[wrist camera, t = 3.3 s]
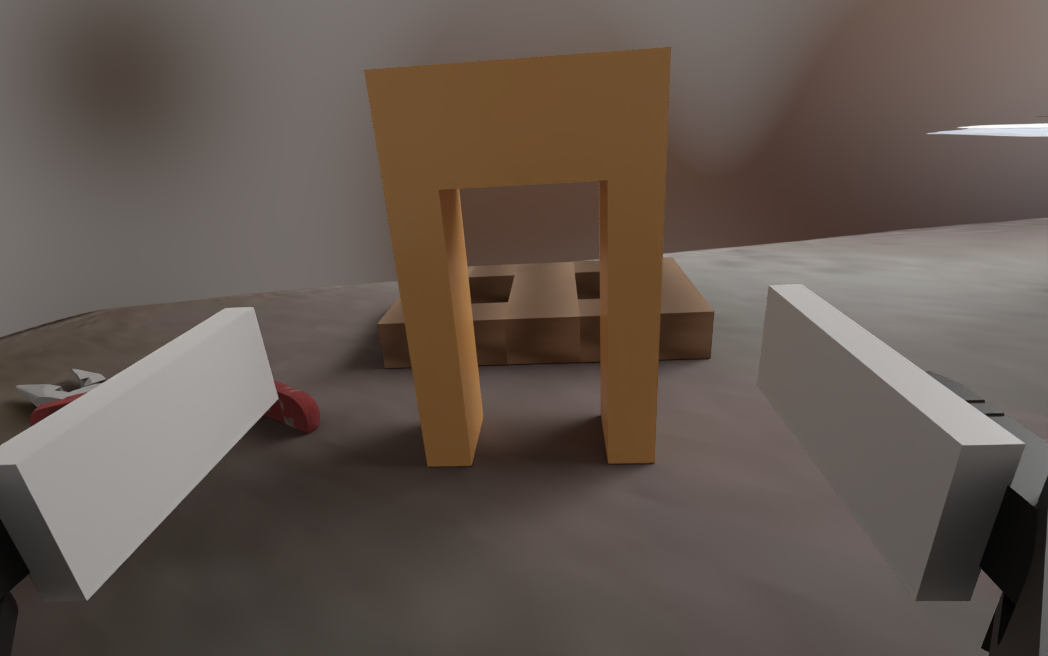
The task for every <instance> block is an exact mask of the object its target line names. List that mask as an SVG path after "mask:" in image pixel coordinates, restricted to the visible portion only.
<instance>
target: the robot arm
mask: <svg viewBox="0 0 1048 656" xmlns="http://www.w3.org/2000/svg"><path fill="white" fill-rule="evenodd" d="M757 385H758V387H759V388H760V390H761V391H762V392H763V394H764V395H765V396H766V398H767V399H768V401H769V402H770V403H771V405H772V406H773V407H774V409H775V410H776V411H777V413H778V414H779V416H780V417H781V418H782V420H783V421H784V422H785V424H786V425H787V426H788V428H789V429H790V431H791V432H792V433H793V435H794V436H795V437H796V439H797V440H798V441H799V443H800V444H801V446H802V447H803V448H804V450H805V451H806V452H807V454H808V455H809V456H810V458H811V459H812V461H813V462H814V463H815V465H816V466H817V467H818V469H819V470H820V471H821V473H822V474H823V476H824V477H825V478H826V480H827V481H828V482H829V484H830V485H831V486H832V488H833V489H834V491H835V492H836V493H837V495H838V496H839V497H840V499H841V500H842V501H843V503H844V504H845V506H846V507H847V508H848V510H849V511H850V512H851V514H852V515H853V517H854V518H855V519H856V521H857V522H858V523H859V525H860V526H861V527H862V529H863V530H864V532H865V533H866V534H867V536H868V537H869V538H870V540H871V541H872V542H873V544H874V545H875V547H876V548H877V549H878V551H879V552H880V553H881V555H882V556H883V557H884V559H885V560H886V562H887V563H888V564H889V566H890V567H891V568H892V570H893V571H894V572H895V574H896V575H897V577H898V578H899V579H900V581H901V582H902V583H903V585H904V586H905V587H906V589H907V590H908V592H909V593H910V594H911V596H912V597H913V598H914V600H915V601H970V599H971V596H972V594H973V591H974V588H975V585H976V582H977V580H978V577H979V574H980V571H981V569H982V570H983V571H984V572H985V573H986V574H987V575H988V576H989V577H990V578H991V579H992V581H993V582H994V583H995V584H996V585H997V586H998V587H999V588H1000V589H1001V590H1002V591H1003V592H1002V595H1001V597H1000V600H999V603H998V605H997V608H996V610H995V613H994V616H993V618H992V621H991V623H990V626H989V629H988V631H987V634H986V636H985V639H984V642H983V644H982V647H981V648H982V649H984V650H986V651H988V652H989V656H1048V443H1047V442H1046V441H1044V440H1043V439H1041V438H1040V437H1039V436H1037V435H1036V434H1034V433H1033V432H1031V431H1030V430H1028V429H1027V428H1025V427H1024V426H1022V425H1021V424H1019V423H1018V422H1016V421H1015V420H1013V419H1012V418H1011V417H1005V416H1004V413H1003V412H1002V411H1000V410H999V409H997V408H996V407H994V406H993V405H991V404H990V403H985V402H984V401H985V400H984V399H982V398H981V397H980V396H978V395H977V394H975V393H974V392H972V391H971V390H969V389H968V388H966V387H965V386H963V385H962V384H960V383H957V382H955V381H952V380H950V379H948V378H945V377H943V376H940V375H938V374H936V373H933V372H931V371H928V372H924V371H923V370H921V369H920V368H919V367H917V366H916V365H914V364H913V363H912V362H910V361H909V360H907V359H906V358H905V357H903V356H902V355H900V354H899V353H898V352H896V351H895V350H893V349H892V348H891V347H889V346H888V345H886V344H885V343H883V342H882V341H881V340H879V339H878V338H876V337H875V336H874V335H872V334H871V333H869V332H868V331H867V330H865V329H864V328H862V327H861V326H860V325H858V324H857V323H855V322H854V321H853V320H851V319H850V318H848V317H847V316H846V315H844V314H843V313H841V312H840V311H839V310H837V309H836V308H834V307H833V306H832V305H830V304H829V303H827V302H826V301H825V300H823V299H822V298H820V297H819V296H818V295H816V294H815V293H813V292H812V291H810V290H809V289H808V288H806V287H805V286H803V285H802V284H790V285H769V289H768V297H767V306H766V314H765V322H764V331H763V339H762V347H761V356H760V364H759V373H758V381H757ZM278 399H279V398H278V395H277V391H276V387H275V384H274V380H273V377H272V373H271V369H270V366H269V362H268V358H267V355H266V351H265V347H264V344H263V340H262V336H261V333H260V329H259V325H258V322H257V318H256V315H255V311H254V307H242V308H225V309H223V310H222V311H220V312H218V313H217V314H215V315H214V316H212V317H210V318H209V319H207V320H205V321H204V322H202V323H200V324H199V325H197V326H195V327H194V328H192V329H191V330H189V331H187V332H186V333H184V334H182V335H181V336H179V337H177V338H176V339H174V340H173V341H171V342H169V343H168V344H166V345H164V346H163V347H161V348H159V349H158V350H156V351H155V352H153V353H151V354H150V355H148V356H146V357H145V358H143V359H141V360H140V361H138V362H136V363H135V364H133V365H132V366H130V367H128V368H127V369H125V370H123V371H122V372H120V373H118V374H117V375H115V376H114V377H112V378H110V379H109V380H107V381H105V382H104V383H102V384H100V385H99V386H97V387H95V388H94V389H92V390H91V391H89V392H87V393H86V394H84V395H82V396H81V397H79V398H77V399H76V400H74V401H73V402H71V403H69V404H68V405H66V406H64V407H63V408H61V409H59V410H58V411H56V412H55V413H53V414H51V415H50V416H48V417H46V418H45V419H43V420H41V421H40V422H38V423H36V424H35V425H33V426H32V427H30V428H28V429H27V430H25V431H23V432H22V433H20V434H18V435H17V436H15V437H14V438H12V439H10V440H9V441H7V442H5V443H4V444H2V445H0V656H11V650H12V644H13V639H14V633H15V627H16V621H17V615H18V607H17V603H16V601H15V599H14V597H13V596H12V594H11V592H10V590H11V589H12V588H13V587H14V586H16V585H17V584H18V583H19V582H20V581H21V580H22V579H23V578H25V577H26V576H27V575H28V574H29V575H30V577H31V579H32V581H33V582H34V584H35V586H36V588H37V589H38V591H39V593H40V595H41V597H42V598H43V600H44V601H87V600H88V599H89V598H90V597H91V596H92V595H93V594H94V593H95V592H96V591H97V590H98V589H99V588H100V587H101V586H102V585H103V583H104V582H105V581H106V580H107V579H108V578H109V577H110V576H111V575H112V574H113V573H114V572H115V571H116V570H117V569H118V568H119V567H120V566H121V564H122V563H123V562H124V561H125V560H126V559H127V558H128V557H129V556H130V555H131V554H132V553H133V552H134V551H135V550H136V549H137V548H138V547H139V545H140V544H141V543H142V542H143V541H144V540H145V539H146V538H147V537H148V536H149V535H150V534H151V533H152V532H153V531H154V530H155V529H156V528H157V526H158V525H159V524H160V523H161V522H162V521H163V520H164V519H165V518H166V517H167V516H168V515H169V514H170V513H171V512H172V511H173V510H174V509H175V507H176V506H177V505H178V504H179V503H180V502H181V501H182V500H183V499H184V498H185V497H186V496H187V495H188V494H189V493H190V492H191V491H192V490H193V488H194V487H195V486H196V485H197V484H198V483H199V482H200V481H201V480H202V479H203V478H204V477H205V476H206V475H207V474H208V473H209V472H210V471H211V469H212V468H213V467H214V466H215V465H216V464H217V463H218V462H219V461H220V460H221V459H222V458H223V457H224V456H225V455H226V454H227V453H228V451H229V450H230V449H231V448H232V447H233V446H234V445H235V444H236V443H237V442H238V441H239V440H240V439H241V438H242V437H243V436H244V435H245V434H246V432H247V431H248V430H249V429H250V428H251V427H252V426H253V425H254V424H255V423H256V422H257V421H258V420H259V419H260V418H261V417H262V416H263V415H264V413H265V412H266V411H267V410H268V409H269V408H270V407H271V406H272V405H273V404H274V403H275V402H276V401H277V400H278Z"/></svg>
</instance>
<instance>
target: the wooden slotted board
mask: <svg viewBox="0 0 1048 656" xmlns="http://www.w3.org/2000/svg"><path fill="white" fill-rule="evenodd" d="M467 270H468V279H469V288H470V298H471V307H472V317H473V326H474V335H475V345H476V354H477V364H478V365H507V364H539V363H572V362H600V261H581V262H561V263H560V262H559V263H538V264H517V265H516V264H515V265H493V266H472V267H467ZM713 321H714V311H713V309H712V308H711V307H710V305H709V304H708V303H707V302H706V300H705V299H704V298H703V296H702V295H701V294H700V293H699V291H698V290H697V289H696V287H695V286H694V285H693V284H692V282H691V281H690V280H689V278H688V277H687V276H686V275H685V273H684V272H683V271H682V269H681V268H680V267H679V266H678V264H677V263H676V262H675V260H674V259H673V258H672V257H669V258H663V261H662V287H661V312H660V338H659V360H669V359H701V358H711V346H712V333H713ZM377 327H378V333H379V338H380V344H381V349H382V355H383V360H384V366H385V368H410V367H412V366H411V360H410V354H409V347H408V341H407V335H406V329H405V322H404V316H403V310H402V303H401V297H399V298H398V299H397V300H396V302H395V303H394V304H393V305H392V306H391V308H390V309H389V310H388V311H387V313H386V314H385V315H384V316H383V317H382V319H381V320H380V321H379V322H378V323H377Z"/></svg>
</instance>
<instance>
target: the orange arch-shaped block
mask: <svg viewBox="0 0 1048 656" xmlns="http://www.w3.org/2000/svg"><path fill="white" fill-rule="evenodd" d="M670 56H671V47H665V48H652V49H639V50H626V51H612V52H598V53H585V54H572V55H558V56H545V57H531V58H519V59H504V60H491V61H478V62H464V63H452V64H437V65H425V66H411V67H397V68H383V69H370V70H364V72H365V77H366V84H367V90H368V97H369V103H370V109H371V116H372V122H373V128H374V134H375V140H376V147H377V153H378V159H379V166H380V171H381V178H382V184H383V190H384V197H385V203H386V209H387V215H388V222H389V228H390V235H391V241H392V247H393V253H394V259H395V266H396V272H397V278H398V285H399V291H400V297H401V303H402V310H403V316H404V322H405V329H406V335H407V341H408V347H409V354H410V360H411V366H412V372H413V379H414V385H415V391H416V397H417V404H418V410H419V416H420V422H421V429H422V435H423V441H424V448H425V454H426V460H427V466H428V467H438V466H472V463H473V459H474V454H475V450H476V446H477V442H478V437H479V433H480V429H481V425H482V420H483V411H482V401H481V392H480V382H479V373H478V364H477V354H476V345H475V335H474V326H473V317H472V307H471V298H470V288H469V279H468V270H467V260H466V251H465V241H464V232H463V223H462V213H461V204H460V194H459V189H462V188H479V187H496V186H515V185H531V184H532V185H533V184H548V183H549V184H550V183H568V182H586V181H599V231H600V233H599V234H600V238H599V239H600V372H601V419H602V426H603V433H604V440H605V446H606V453H607V460H608V464H620V463H655V440H656V415H657V389H658V364H659V338H660V312H661V287H662V261H663V235H664V207H665V184H666V157H667V133H668V107H669V81H670Z"/></svg>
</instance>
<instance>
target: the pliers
mask: <svg viewBox="0 0 1048 656" xmlns="http://www.w3.org/2000/svg"><path fill="white" fill-rule="evenodd" d="M71 370H72V372H73V374H74V376H75V378H76V379H77V381H78V383H79V384H80V386H81V388H80V389H78V390H74V391H71V392H65V391H63V389H62V387H61V386H55V385H50V384H40V385H17V386H15V388H16V390H17V391H18V392H19V393H20V394H22V395H23V396H24V397H25V398H27V399H28V400H29V401H30V402H31V403H33V404H34V405H35V406H36V407H37V408H36V409H35V410H34V411H33V413H32V414H31V416H30V420H29V422H30V425H31V427H32V426H33V425H35V424H36V423H38V422H40V421H41V420H43V419H45V418H46V417H48V416H50V415H51V414H53V413H55V412H56V411H58V410H59V409H61V408H63V407H64V406H66V405H68V404H69V403H71V402H73V401H74V400H76V399H77V398H79V397H81V396H82V395H84V394H86V393H87V392H89V391H91V390H92V389H94V388H95V387H97V386H99V385H100V384H102V383H104V382H105V381H106V379H105V378H104V377H103V376H102V375H101V374H97V373H92V372H87V371H82V370H77V369H71ZM274 384H275V387H276V391H277V395H278V398H279V399H278V400H277V401H276V402H275V403H274V404H273V405H272V406H271V407H270V408H269V409H268V410H267V411H266V412H265V413H264V415H263V416H265V417H269V418H273V419H275V420H277V421H280V422H282V423H284V424H287V425H289V426H291V427H293V428H296V429H298V430H300V431H303V432H305V433H307V434H309V433H311V432H313V431H314V430H315V429H317V427H318V425H319V421H320V412H319V408H318V405H317V403H316V402H315V401H314V399H313V398H312V397H311V396H310V395H308V394H307V393H304V392H302V391H299V390H297V389H294V388H292V387H289V386H287V385H284V384H282V383H280V382H277V381H275V380H274Z"/></svg>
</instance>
